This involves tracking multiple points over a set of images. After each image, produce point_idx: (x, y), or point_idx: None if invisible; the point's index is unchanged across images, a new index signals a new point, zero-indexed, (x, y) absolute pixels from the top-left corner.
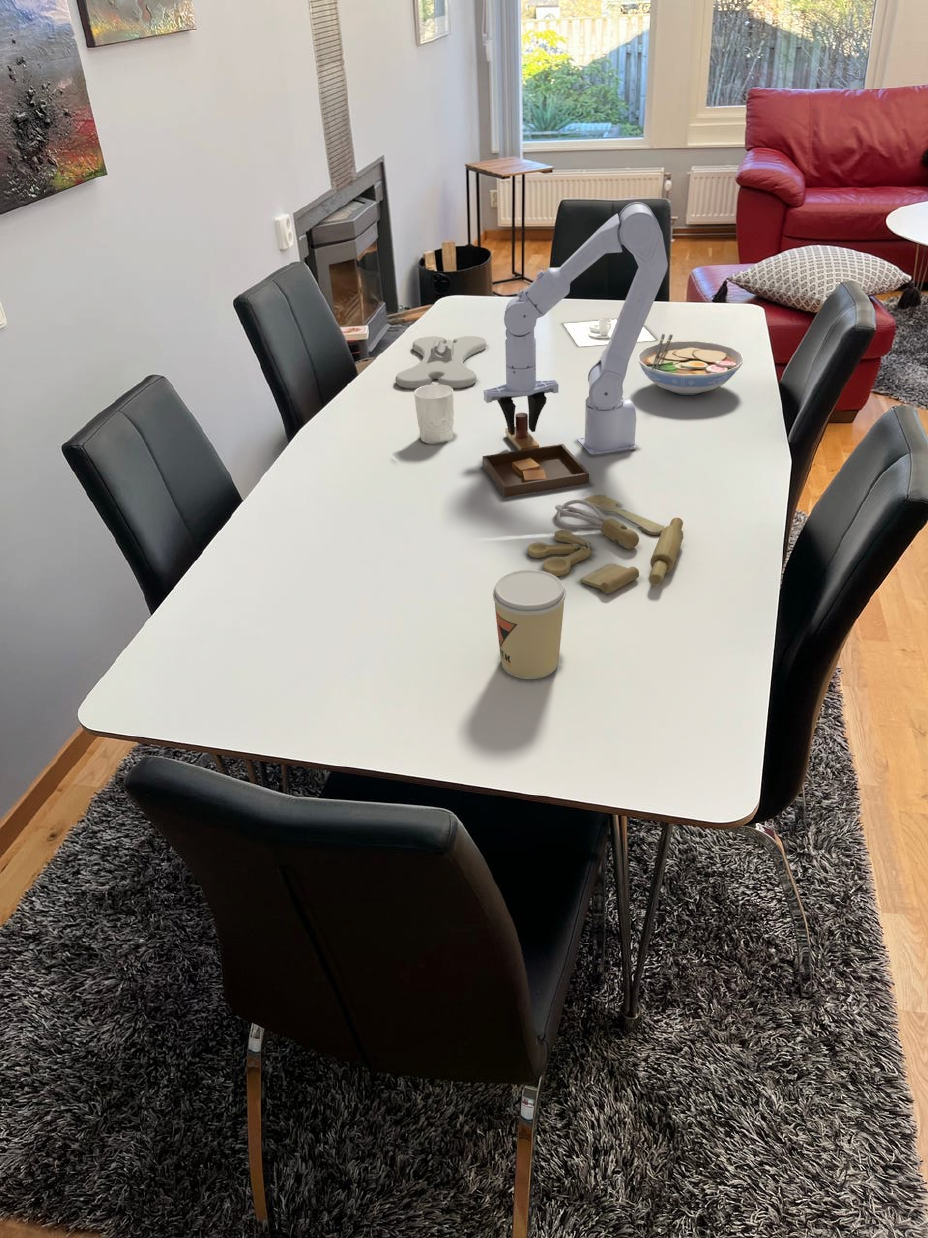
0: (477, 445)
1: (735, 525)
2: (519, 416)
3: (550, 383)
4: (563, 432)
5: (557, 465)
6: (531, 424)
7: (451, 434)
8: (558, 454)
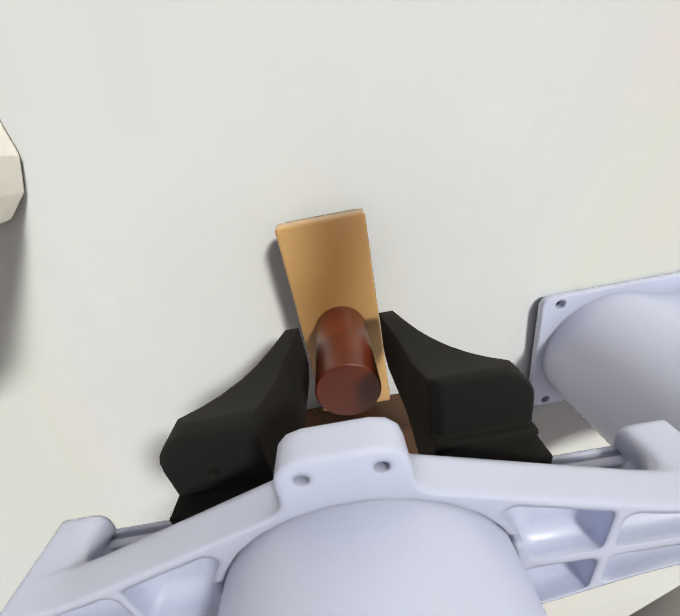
0: (164, 268)
1: (603, 599)
2: (334, 407)
3: (662, 536)
4: (530, 200)
5: (414, 449)
6: (389, 359)
7: (3, 196)
8: None
